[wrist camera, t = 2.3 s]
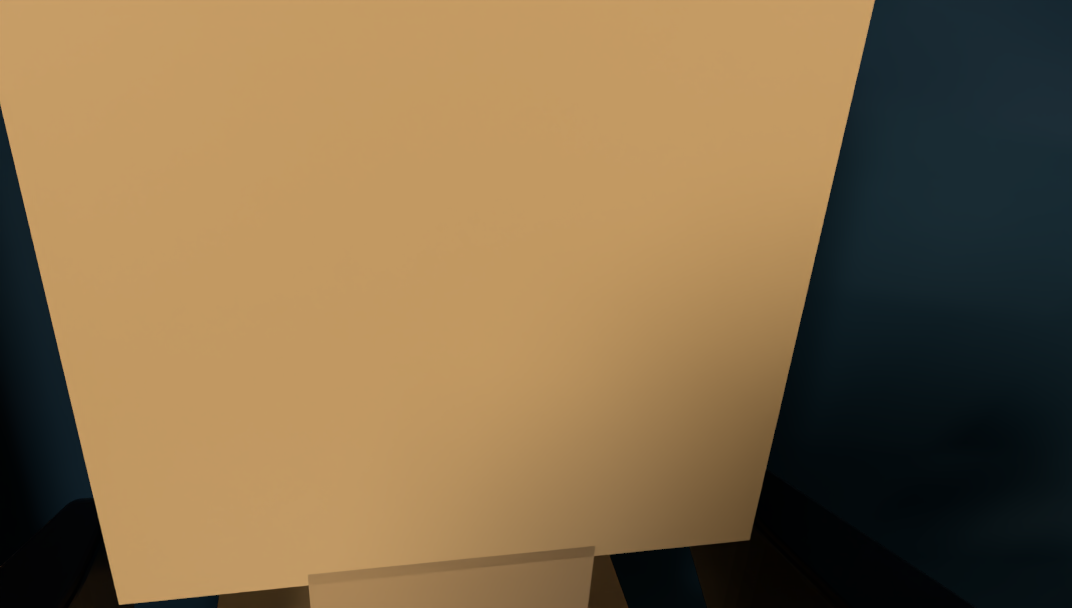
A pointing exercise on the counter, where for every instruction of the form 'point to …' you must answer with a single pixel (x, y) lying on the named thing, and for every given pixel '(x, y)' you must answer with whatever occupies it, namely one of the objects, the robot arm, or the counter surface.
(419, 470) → the tan square dumbbell
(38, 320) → the counter surface
